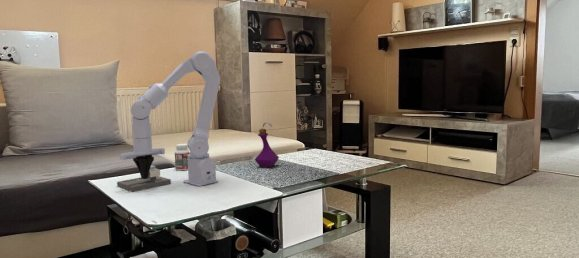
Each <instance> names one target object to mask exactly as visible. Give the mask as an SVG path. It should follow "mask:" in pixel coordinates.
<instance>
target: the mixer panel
mask: <svg viewBox="0 0 579 258" xmlns="http://www.w3.org/2000/svg"><path fill="white" fill-rule="evenodd" d="M171 180H172V179H170V178H166V177H164V176H161V175H160V176H156V179H155V180H151V179H150V177H148V179H142V178H141V176H140V177H135V178H130V179H124V180H121V181H116V184H117V185H116V187H118V188H120V189H124V190H127V191H129V192H138V191H143V190H147V189H148V190H149V189H151V188H157V187H162V186H167V185H171V184H172V181H171Z"/></svg>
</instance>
